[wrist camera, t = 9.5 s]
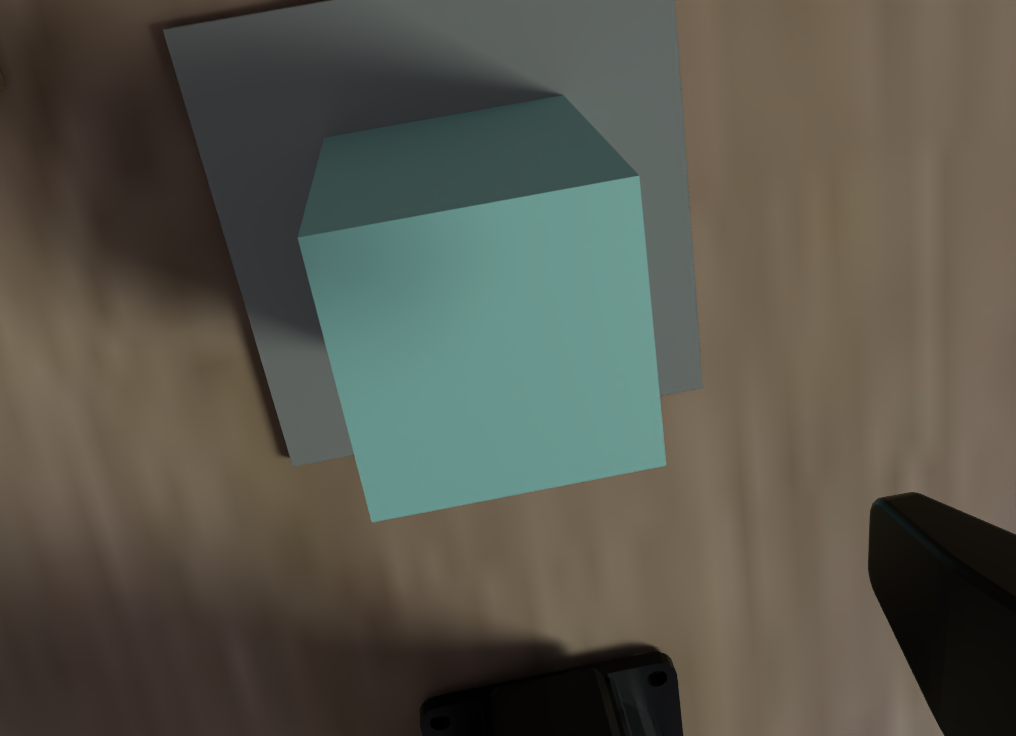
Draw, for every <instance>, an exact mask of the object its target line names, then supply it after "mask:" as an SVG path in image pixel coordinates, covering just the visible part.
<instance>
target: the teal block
mask: <svg viewBox="0 0 1016 736" xmlns="http://www.w3.org/2000/svg"><path fill="white" fill-rule="evenodd" d="M298 241H299V245H300V249H301V253H302V257H303V260H304V264H305V268H306V272H307V276H308V280H309V283H310V287H311V291H312V295H313V299H314V303H315V306H316V310H317V314H318V318H319V322H320V326H321V329H322V333H323V337H324V341H325V345H326V349H327V352H328V356H329V360H330V364H331V368H332V372H333V375H334V379H335V383H336V387H337V391H338V395H339V398H340V402H341V406H342V410H343V414H344V418H345V421H346V425H347V429H348V433H349V437H350V441H351V444H352V448H353V452H354V456H355V460H356V464H357V467H358V471H359V475H360V479H361V483H362V487H363V490H364V494H365V498H366V502H367V506H368V510H369V513H370V517H371V521H372V522H377V521H382V520H387V519H393V518H398V517H403V516H408V515H413V514H418V513H424V512H429V511H434V510H439V509H444V508H449V507H455V506H460V505H465V504H470V503H475V502H481V501H486V500H491V499H496V498H501V497H506V496H512V495H517V494H522V493H527V492H532V491H538V490H543V489H548V488H553V487H558V486H563V485H569V484H574V483H579V482H584V481H589V480H595V479H600V478H605V477H610V476H615V475H620V474H626V473H631V472H636V471H641V470H646V469H651V468H657V467H662V466H666V457H665V446H664V435H663V425H662V414H661V403H660V392H659V382H658V371H657V360H656V349H655V339H654V328H653V317H652V307H651V296H650V285H649V274H648V264H647V253H646V242H645V231H644V221H643V210H642V199H641V188H640V178H639V175H638V174H637V173H636V172H635V170H634V169H633V168H632V167H631V166H630V165H629V164H628V163H627V162H626V161H625V160H624V159H623V158H622V157H621V156H620V155H619V153H618V152H617V151H616V150H615V149H614V148H613V147H612V146H611V145H610V144H609V143H608V142H607V141H606V140H605V139H604V138H603V136H602V135H601V134H600V133H599V132H598V131H597V130H596V129H595V128H594V127H593V126H592V125H591V124H590V123H589V122H588V121H587V120H586V118H585V117H584V116H583V115H582V114H581V113H580V112H579V111H578V110H577V109H576V108H575V107H574V106H573V105H572V104H571V103H570V101H569V100H568V99H567V98H566V97H565V96H564V95H561V96H555V97H550V98H544V99H539V100H533V101H527V102H522V103H516V104H510V105H505V106H499V107H494V108H488V109H482V110H477V111H471V112H466V113H460V114H454V115H449V116H443V117H438V118H432V119H426V120H421V121H415V122H410V123H404V124H398V125H393V126H387V127H381V128H376V129H370V130H365V131H359V132H353V133H348V134H342V135H337V136H331V137H325V138H324V140H323V144H322V148H321V151H320V155H319V159H318V163H317V167H316V170H315V174H314V178H313V182H312V185H311V189H310V193H309V197H308V200H307V204H306V208H305V212H304V215H303V219H302V223H301V227H300V230H299V234H298Z"/></svg>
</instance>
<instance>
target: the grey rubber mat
mask: <svg viewBox="0 0 1016 736" xmlns="http://www.w3.org/2000/svg"><path fill="white" fill-rule="evenodd" d="M163 32H164V36H165V39H166V43H167V46H168V49H169V53H170V56H171V59H172V63H173V66H174V69H175V73H176V76H177V79H178V83H179V86H180V90H181V93H182V96H183V100H184V103H185V106H186V110H187V113H188V116H189V120H190V123H191V126H192V130H193V133H194V137H195V140H196V143H197V147H198V150H199V153H200V157H201V160H202V163H203V167H204V170H205V173H206V177H207V180H208V184H209V187H210V190H211V194H212V197H213V200H214V204H215V207H216V210H217V214H218V217H219V220H220V224H221V227H222V231H223V234H224V237H225V241H226V244H227V247H228V251H229V254H230V257H231V261H232V264H233V267H234V271H235V274H236V278H237V281H238V284H239V288H240V291H241V294H242V298H243V301H244V304H245V308H246V311H247V314H248V318H249V321H250V325H251V328H252V331H253V335H254V338H255V341H256V345H257V348H258V351H259V355H260V358H261V361H262V365H263V368H264V371H265V375H266V378H267V382H268V385H269V388H270V392H271V395H272V398H273V402H274V405H275V408H276V412H277V415H278V418H279V422H280V425H281V429H282V432H283V435H284V439H285V442H286V445H287V449H288V452H289V455H290V459H291V462H292V465H293V467H294V466H299V465H305V464H310V463H315V462H320V461H325V460H331V459H336V458H341V457H346V456H351V455H354V452H353V448H352V444H351V441H350V437H349V433H348V429H347V425H346V421H345V418H344V414H343V410H342V406H341V402H340V398H339V395H338V391H337V387H336V383H335V379H334V375H333V372H332V368H331V364H330V360H329V356H328V352H327V349H326V345H325V341H324V337H323V333H322V329H321V326H320V322H319V318H318V314H317V310H316V306H315V303H314V299H313V295H312V291H311V287H310V283H309V280H308V276H307V272H306V268H305V264H304V260H303V257H302V253H301V249H300V245H299V241H298V234H299V230H300V227H301V223H302V219H303V215H304V212H305V208H306V204H307V200H308V197H309V193H310V189H311V185H312V182H313V178H314V174H315V170H316V167H317V163H318V159H319V155H320V151H321V148H322V144H323V140H324V138H325V137H331V136H337V135H342V134H348V133H353V132H359V131H365V130H370V129H376V128H381V127H387V126H393V125H398V124H404V123H410V122H415V121H421V120H426V119H432V118H438V117H443V116H449V115H454V114H460V113H466V112H471V111H477V110H482V109H488V108H494V107H499V106H505V105H510V104H516V103H522V102H527V101H533V100H539V99H544V98H550V97H555V96H561V95H564V96H565V97H566V98H567V99H568V100H569V101H570V103H571V104H572V105H573V106H574V107H575V108H576V109H577V110H578V111H579V112H580V113H581V114H582V115H583V116H584V117H585V118H586V120H587V121H588V122H589V123H590V124H591V125H592V126H593V127H594V128H595V129H596V130H597V131H598V132H599V133H600V134H601V135H602V136H603V138H604V139H605V140H606V141H607V142H608V143H609V144H610V145H611V146H612V147H613V148H614V149H615V150H616V151H617V152H618V153H619V155H620V156H621V157H622V158H623V159H624V160H625V161H626V162H627V163H628V164H629V165H630V166H631V167H632V168H633V169H634V170H635V172H636V173H637V174H638V175H639V178H640V188H641V199H642V210H643V221H644V231H645V242H646V253H647V264H648V274H649V285H650V296H651V307H652V317H653V328H654V339H655V349H656V360H657V371H658V382H659V392H660V396H664V395H669V394H675V393H680V392H685V391H690V390H696V389H701V388H703V385H702V371H701V357H700V343H699V329H698V315H697V302H696V288H695V274H694V260H693V246H692V232H691V218H690V204H689V191H688V177H687V163H686V149H685V135H684V121H683V107H682V94H681V80H680V66H679V52H678V38H677V24H676V10H675V0H324V1H318V2H313V3H307V4H301V5H296V6H290V7H284V8H278V9H273V10H267V11H261V12H256V13H250V14H244V15H238V16H233V17H227V18H221V19H215V20H210V21H204V22H198V23H193V24H187V25H181V26H175V27H170V28H166V29H164V30H163Z"/></svg>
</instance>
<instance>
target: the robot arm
mask: <svg viewBox="0 0 1016 736" xmlns="http://www.w3.org/2000/svg"><path fill="white" fill-rule="evenodd" d="M868 572H869V578H870V582H871V585H872V588H873V591H874V593H875V595H876V597H877V599H878V601H879V603H880V606H881V608H882V610H883V612H884V614H885V616H886V618H887V620H888V622H889V624H890V626H891V628H892V631H893V633H894V635H895V637H896V639H897V641H898V643H899V645H900V647H901V649H902V651H903V654H904V656H905V658H906V660H907V662H908V664H909V666H910V668H911V670H912V672H913V674H914V677H915V679H916V681H917V683H918V685H919V687H920V689H921V691H922V693H923V695H924V697H925V700H926V702H927V704H928V706H929V708H930V710H931V712H932V713H933V715H934V717H935V719H936V721H937V723H938V725H939V727H940V729H941V730H942V732H943V734H944V736H1016V534H1013V533H1011V532H1009V531H1006V530H1004V529H1002V528H999V527H997V526H995V525H992V524H990V523H988V522H985V521H983V520H981V519H978V518H976V517H974V516H971V515H969V514H967V513H964V512H962V511H960V510H957V509H955V508H953V507H950V506H948V505H946V504H943V503H941V502H939V501H936V500H934V499H932V498H929V497H927V496H925V495H922V494H919V493H915V492H909V493H903V494H898V495H892V496H887V497H881V498H878V499H877V500H876V501H875V502H874V503H873V504H872V507H871V510H870V525H869V552H868ZM655 671H661V672H660V673H658V674H656V675H650V674H651V673H653V672H655ZM437 715H445V717H443V718H434V717H435V716H437ZM420 727H421V731H422V735H423V736H683V729H682V719H681V709H680V699H679V689H678V679H677V673H676V671H675V668H674V665H673V663H672V660H671V658H670V657H669V656H668V655H666V654H664V653H660V652H653V653H647V654H642V655H637V656H632V657H627V658H622V659H617V660H612V661H607V662H602V663H597V664H592V665H587V666H582V667H577V668H572V669H568V670H563V671H558V672H553V673H548V674H543V675H538V676H533V677H528V678H523V679H518V680H513V681H508V682H503V683H498V684H493V685H488V686H483V687H478V688H473V689H468V690H463V691H458V692H453V693H448V694H443V695H438V696H434V697H432V698H429V699H427V700H426V701H425V702H424V703H423V704H422V706H421V708H420Z"/></svg>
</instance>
